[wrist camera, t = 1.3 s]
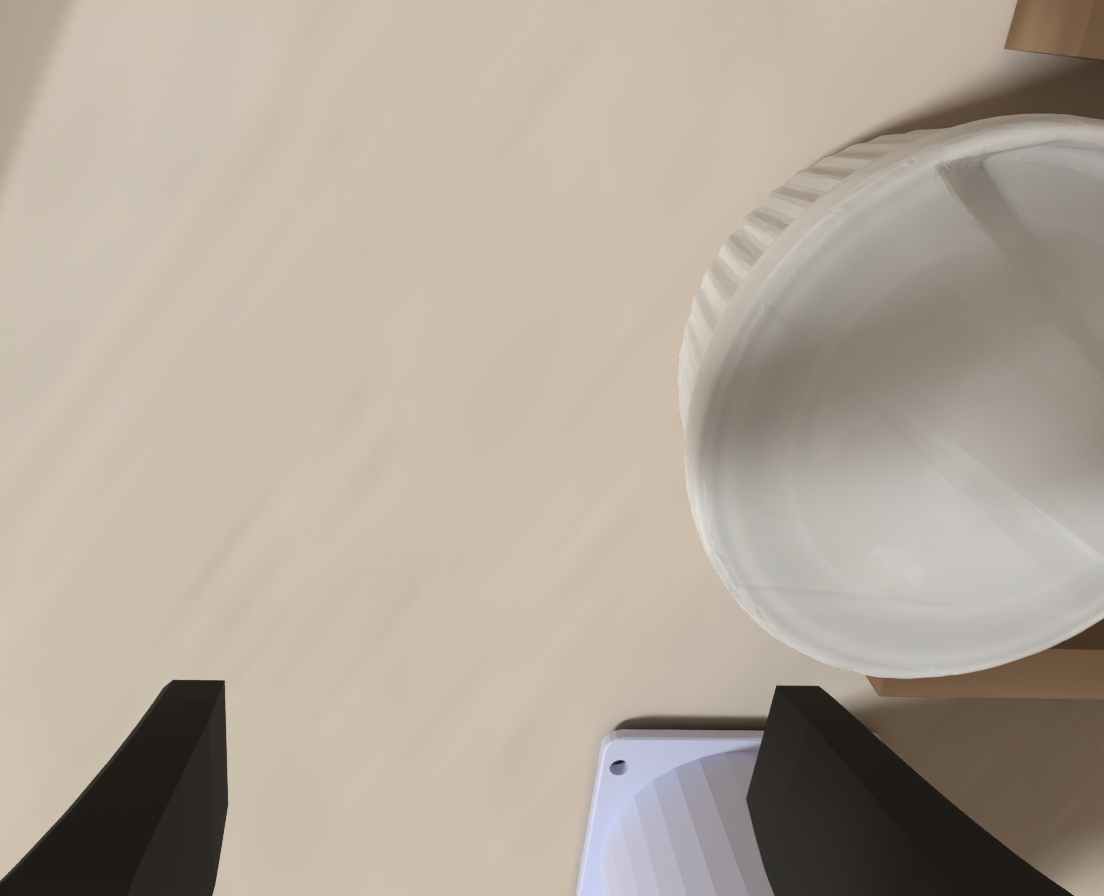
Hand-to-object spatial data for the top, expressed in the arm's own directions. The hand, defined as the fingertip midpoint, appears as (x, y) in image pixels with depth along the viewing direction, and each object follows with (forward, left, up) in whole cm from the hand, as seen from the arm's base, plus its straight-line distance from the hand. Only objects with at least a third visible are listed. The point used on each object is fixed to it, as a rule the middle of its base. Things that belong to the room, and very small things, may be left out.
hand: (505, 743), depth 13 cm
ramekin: (+3, -9, -11) cm, 14 cm away
